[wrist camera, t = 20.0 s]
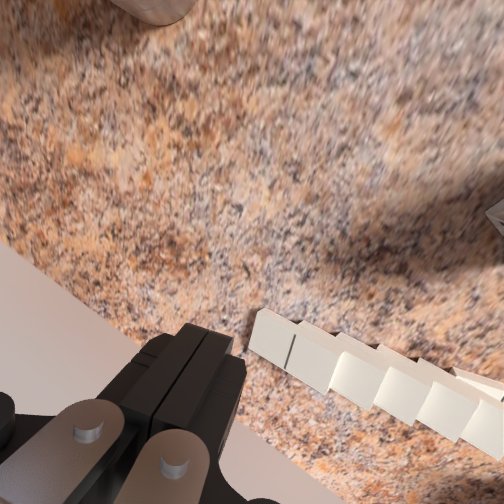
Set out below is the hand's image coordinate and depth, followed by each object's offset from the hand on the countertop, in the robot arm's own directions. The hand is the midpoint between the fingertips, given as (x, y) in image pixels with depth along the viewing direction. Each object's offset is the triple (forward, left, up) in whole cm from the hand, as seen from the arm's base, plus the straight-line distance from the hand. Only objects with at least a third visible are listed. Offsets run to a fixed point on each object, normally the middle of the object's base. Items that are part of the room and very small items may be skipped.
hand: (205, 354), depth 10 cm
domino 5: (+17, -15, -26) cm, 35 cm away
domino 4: (+13, -15, -26) cm, 33 cm away
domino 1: (-1, -15, -26) cm, 30 cm away
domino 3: (+8, -15, -26) cm, 31 cm away
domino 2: (+4, -15, -26) cm, 31 cm away
